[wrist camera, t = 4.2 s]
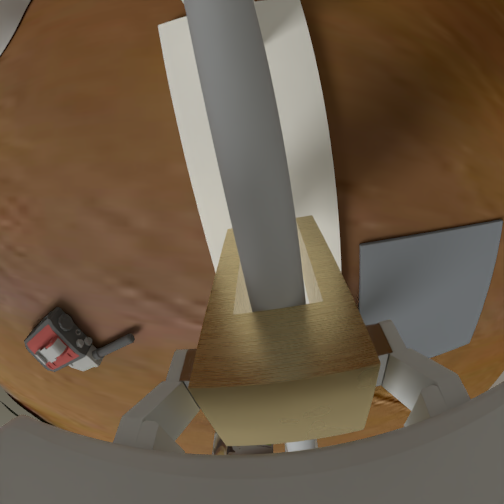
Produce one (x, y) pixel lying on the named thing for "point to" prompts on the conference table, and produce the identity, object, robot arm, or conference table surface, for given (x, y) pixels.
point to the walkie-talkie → (67, 344)
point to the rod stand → (254, 138)
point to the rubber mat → (429, 284)
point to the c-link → (284, 355)
